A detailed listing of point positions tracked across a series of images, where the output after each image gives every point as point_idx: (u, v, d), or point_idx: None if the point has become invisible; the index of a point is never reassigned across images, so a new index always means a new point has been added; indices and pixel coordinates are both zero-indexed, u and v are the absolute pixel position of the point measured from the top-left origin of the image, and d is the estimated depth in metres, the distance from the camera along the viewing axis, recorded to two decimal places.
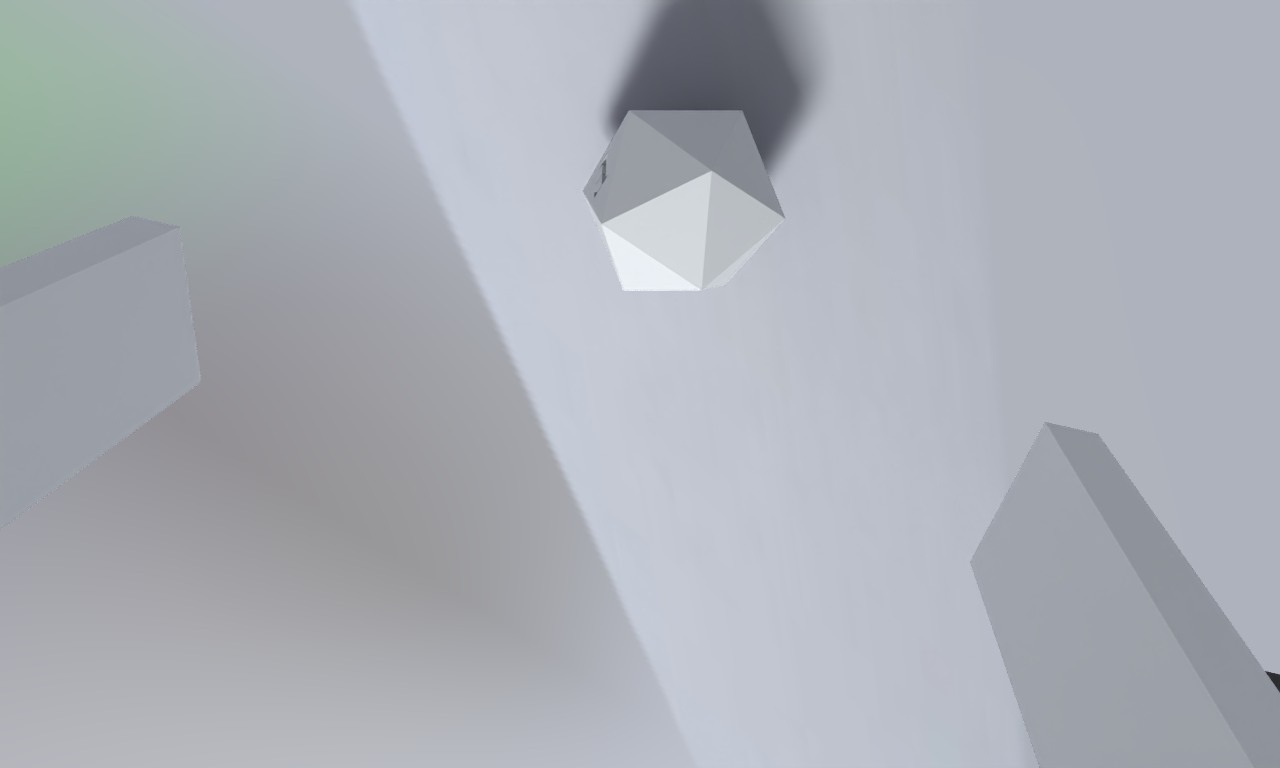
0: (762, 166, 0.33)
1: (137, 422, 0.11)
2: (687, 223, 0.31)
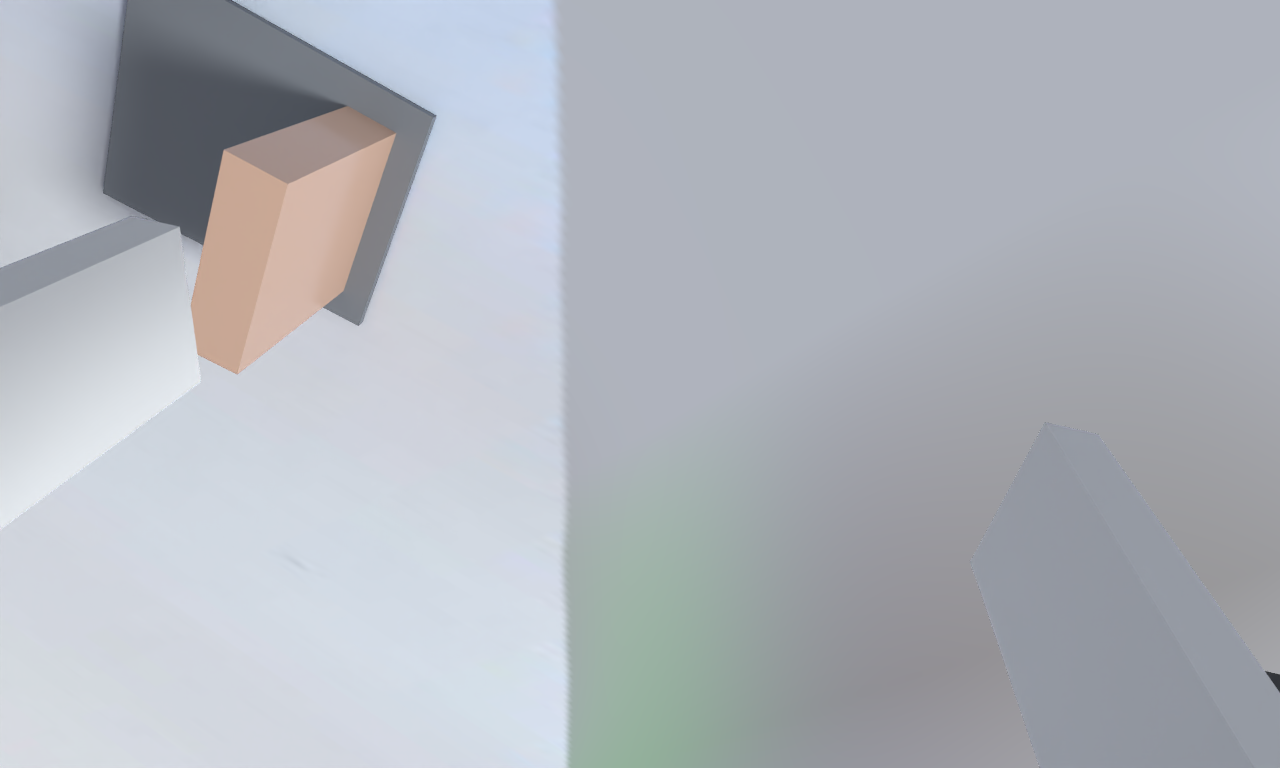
0: None
1: (137, 422, 0.11)
2: None
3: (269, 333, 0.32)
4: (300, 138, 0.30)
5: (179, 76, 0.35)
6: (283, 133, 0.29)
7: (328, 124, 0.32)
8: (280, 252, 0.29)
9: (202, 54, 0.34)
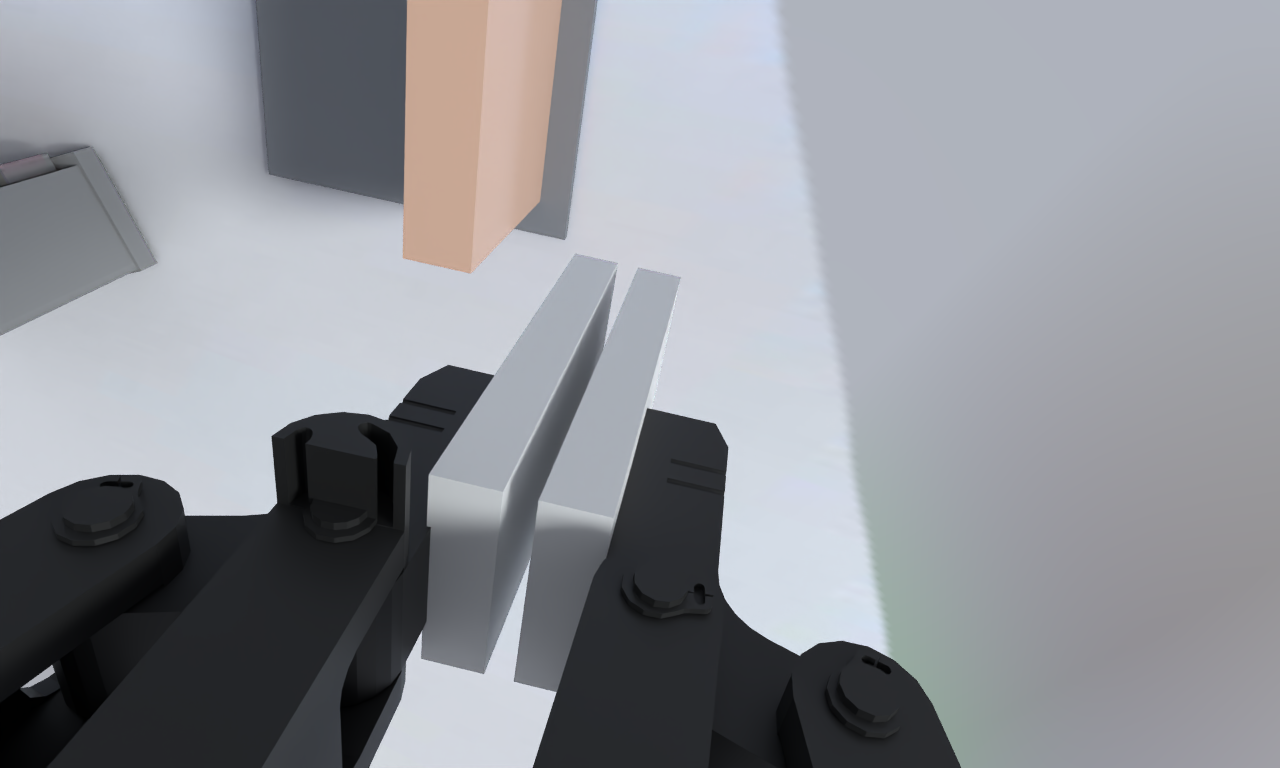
0: None
1: None
2: None
3: (490, 224, 0.27)
4: None
5: (319, 0, 0.31)
6: None
7: None
8: (491, 93, 0.23)
9: None
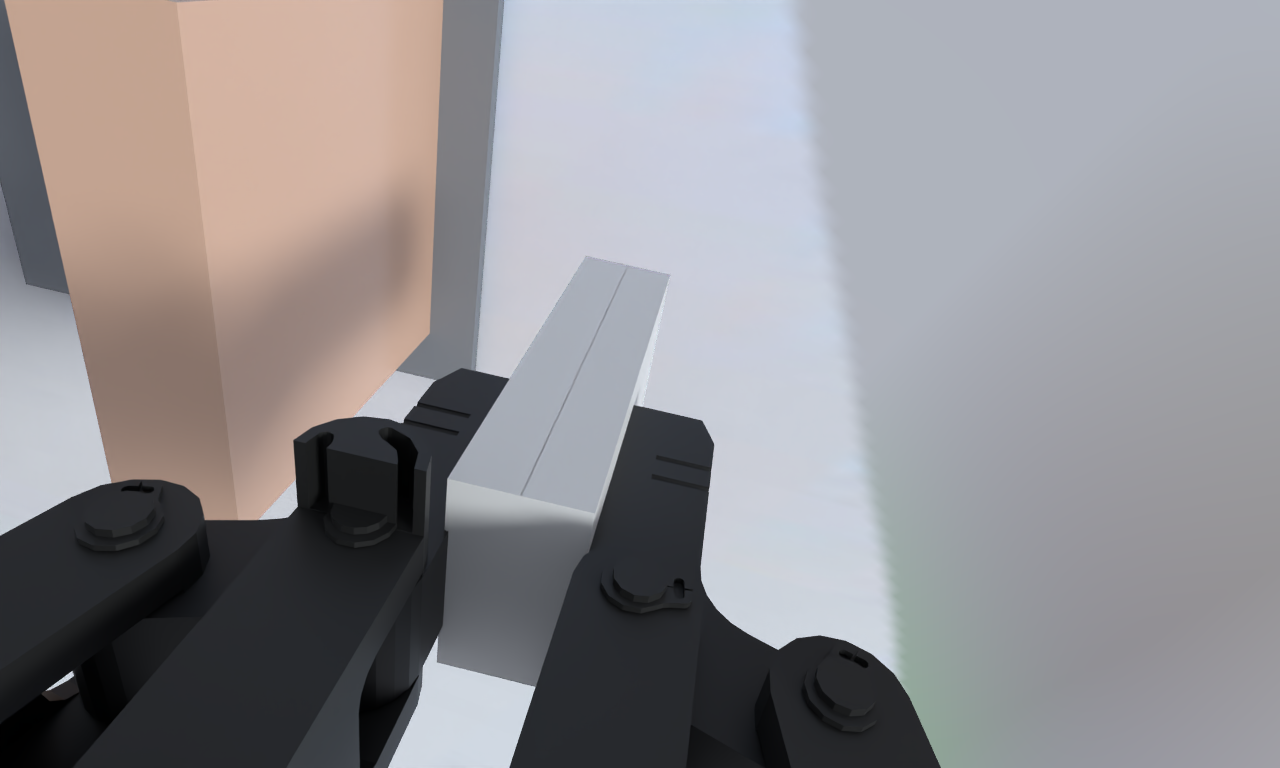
0: None
1: None
2: None
3: (291, 434, 0.15)
4: None
5: None
6: None
7: None
8: (239, 229, 0.12)
9: None
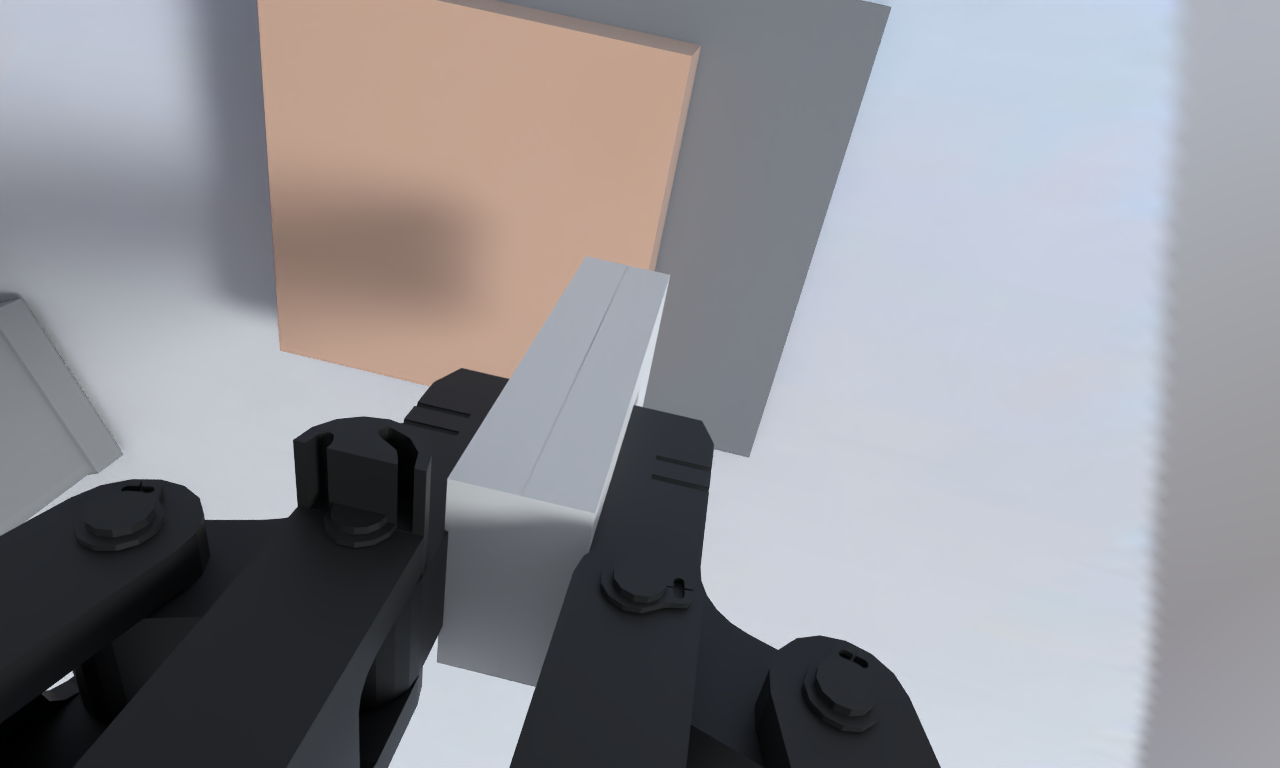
0: None
1: None
2: None
3: (347, 326, 0.19)
4: None
5: None
6: None
7: (574, 20, 0.17)
8: (301, 133, 0.17)
9: None
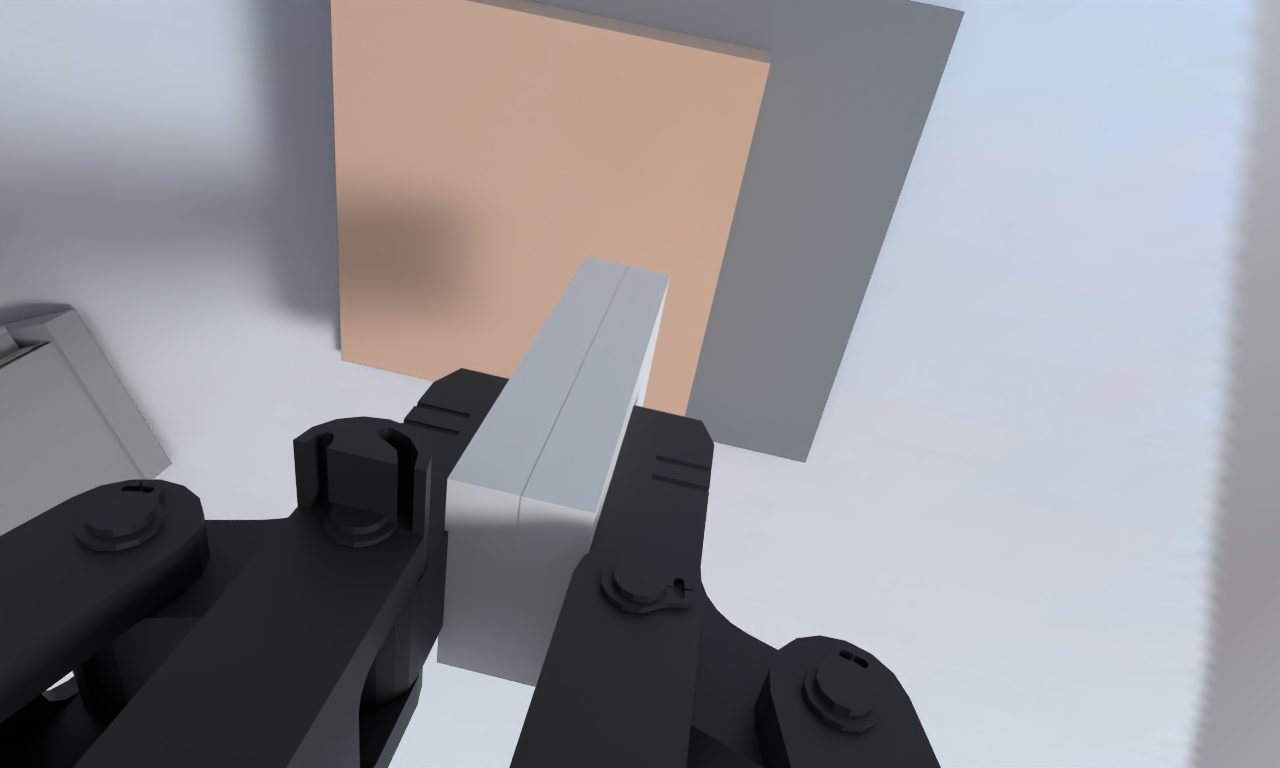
0: None
1: None
2: None
3: (410, 336, 0.19)
4: (531, 5, 0.16)
5: None
6: (523, 1, 0.17)
7: (644, 27, 0.16)
8: (370, 144, 0.17)
9: None
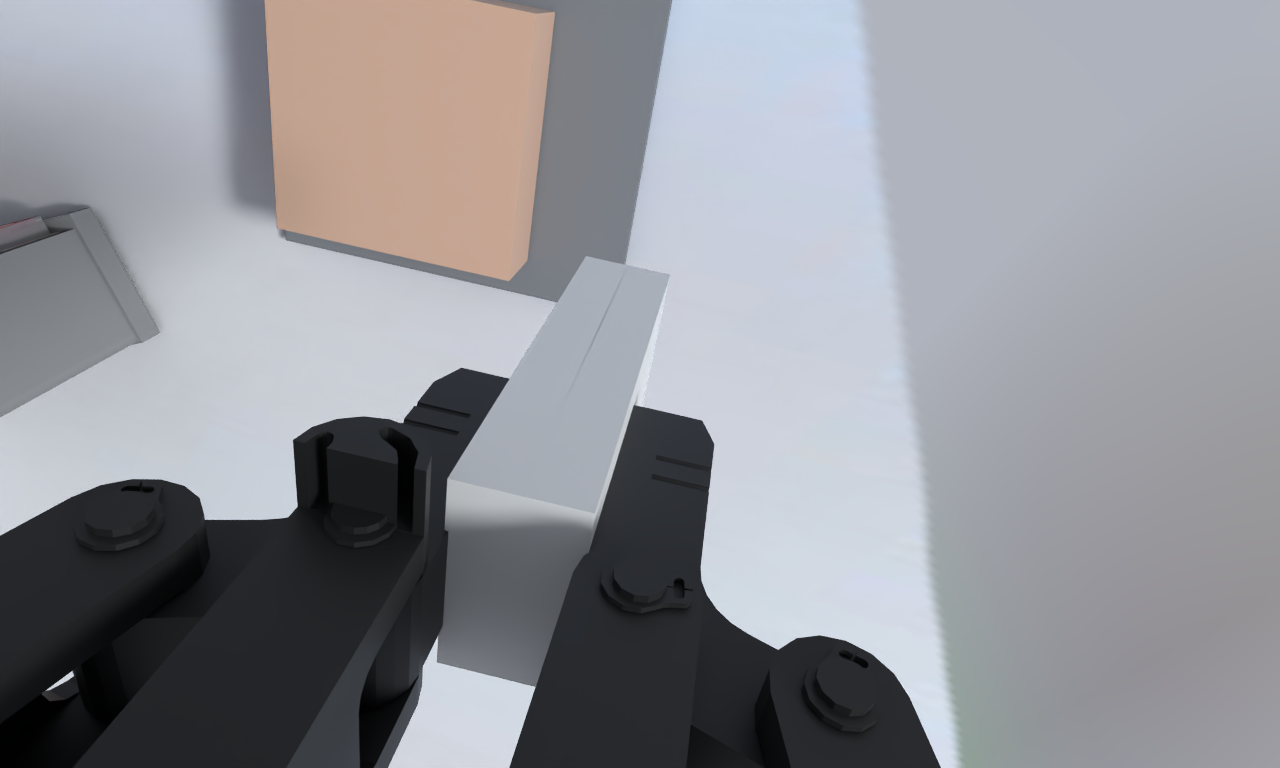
0: None
1: None
2: None
3: (323, 208, 0.28)
4: None
5: None
6: None
7: None
8: (291, 70, 0.25)
9: None
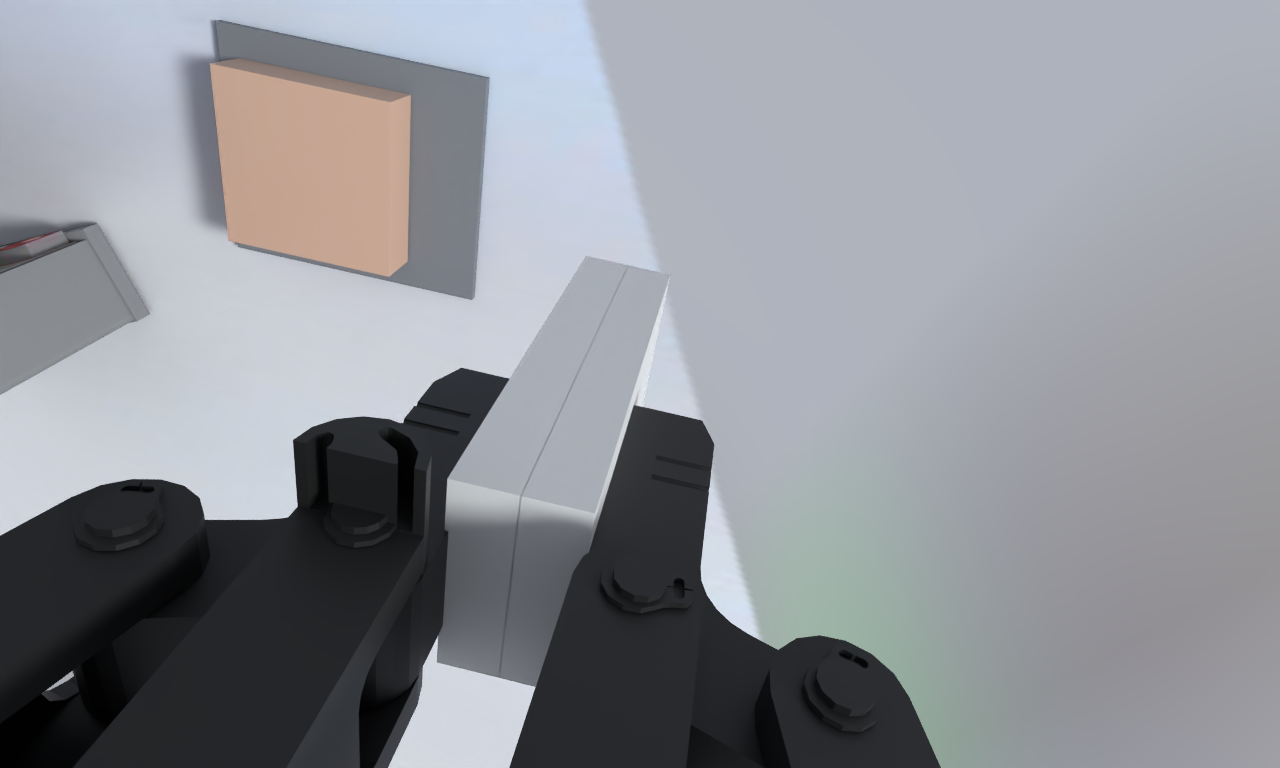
0: None
1: None
2: None
3: (259, 227, 0.40)
4: (302, 74, 0.37)
5: None
6: (301, 72, 0.38)
7: (352, 84, 0.38)
8: (232, 135, 0.38)
9: None
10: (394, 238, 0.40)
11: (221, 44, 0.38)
